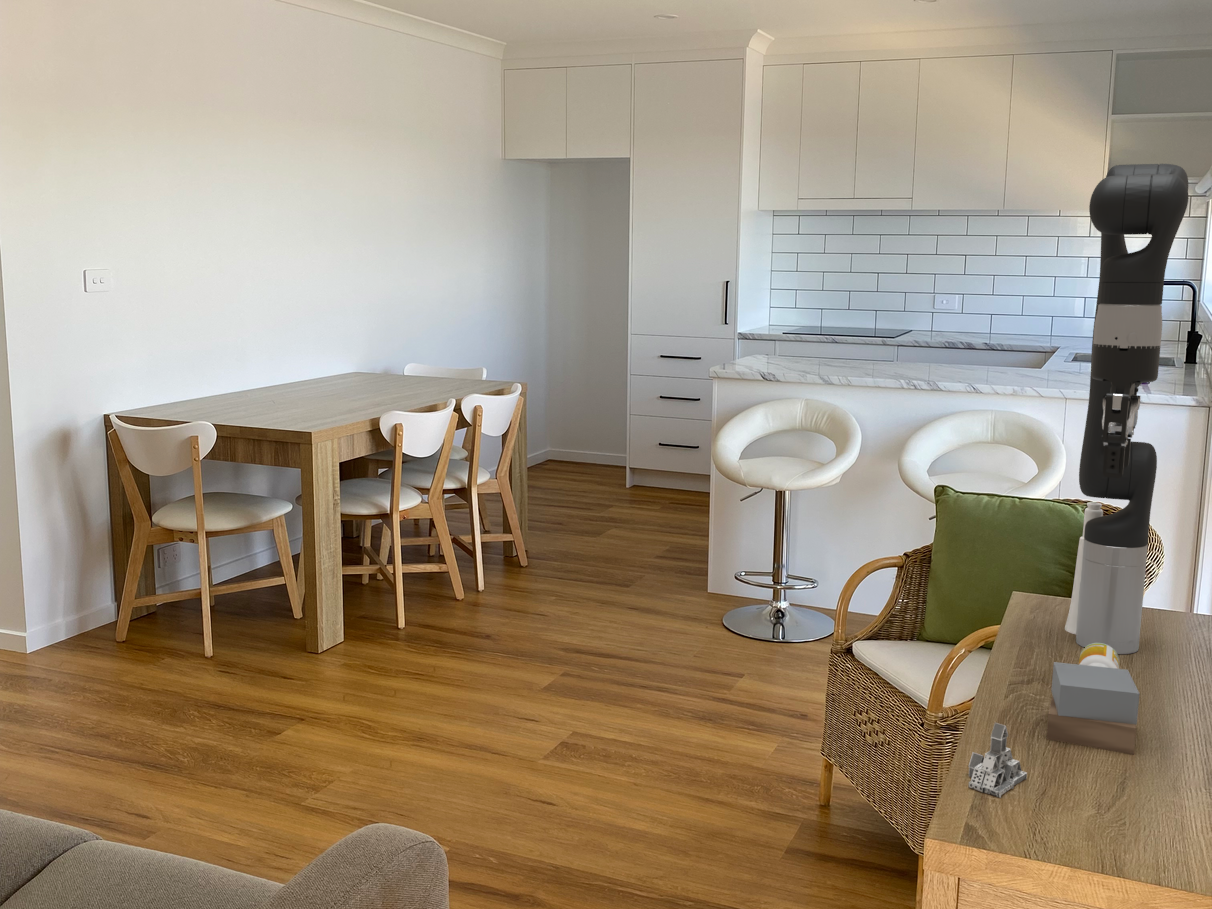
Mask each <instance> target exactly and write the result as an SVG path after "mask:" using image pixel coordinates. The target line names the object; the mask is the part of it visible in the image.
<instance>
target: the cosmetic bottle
mask: <svg viewBox="0 0 1212 909" xmlns="http://www.w3.org/2000/svg"><path fill="white" fill-rule="evenodd" d="M1086 506H1087V507H1086V508H1085V509H1084V513H1083V514H1084V515H1083V517H1084V518H1083V528H1082V529H1083V530H1082V536H1080V537H1079V541H1078V548H1077V554H1076V555H1077V556H1076V561H1075V562H1076V563H1075V571H1074V579H1073V587H1072V593H1071V600H1070V605H1069V611H1068V614H1067V617H1066V618H1067V619H1066V622H1065V626H1064V630H1065V632H1068V633H1070V634H1073V635H1075V636H1076V628H1077V616H1078V603H1079V590H1080V582H1081V571H1082V559H1083V545H1084V532H1085V525H1086V523H1087V522H1088V521H1089V520H1091V519H1094V518H1098V517H1102V516H1104V510H1103V509H1102V507H1103V504H1102V503H1099V502H1095V501H1094V502H1093V501H1090V502H1087V503H1086Z"/></svg>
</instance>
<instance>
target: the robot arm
mask: <svg viewBox="0 0 1212 909" xmlns="http://www.w3.org/2000/svg"><path fill="white" fill-rule="evenodd" d="M1089 200H1090V201H1089V205H1088V206H1089V207H1088V208H1089V218H1090V221H1091V223H1092V225H1093V227H1094V228H1095V229H1096V231H1098V232H1099V233H1100V262H1099V263H1100V264H1099V265H1100V266H1099V280H1098V287H1097V288H1098V289H1097V298H1096V306H1095V312H1094V313H1095V314H1094V321H1093V330H1092V340H1091V341H1092V343H1091V358H1090V376H1089V377H1090V379H1089V380H1090V382H1089V395H1088V405H1087V412H1086V419H1085V426H1084V431H1083V432H1084V433H1083V440H1082V446H1081V447H1082V448H1081V452H1080V460H1079V469H1078V471H1079V472H1078V481H1079V482H1078V483H1079V484H1078V485H1079V488H1080V491H1081V493H1082V494H1083V495H1084V496H1086V497H1090V498H1097V499H1098V498H1099V499H1106V500H1107V499H1108V500H1122V501H1128V503H1127V505H1126V506H1125V507H1123V508H1122V509H1120V510H1117V511H1116V512H1114V513H1110V514H1108V515H1107V514H1106V515H1103V516H1102V517H1098V518H1094V519H1091V520H1089V521H1088V522H1087V523H1086V525H1085V532H1084V545H1083V559H1082V571H1081V582H1080V590H1079V603H1078V616H1077V628H1076V635H1075V642H1076V644H1077V645H1078V646H1080V647H1082V648H1084V647H1086V646H1088V645H1089V644H1092V643H1103V644H1106V645H1108V646H1110V647H1112V648H1113V649H1114V650H1115V651H1116V653H1117V655H1128V654H1134V653H1136V652H1138V651H1139V650H1140V649H1139V646H1140V636H1141V625H1142V616H1143V615H1142V614H1143V603H1144V593H1145V592H1144V591H1145V581H1146V580H1145V579H1146V569H1147V568H1146V567H1147V559H1148V558H1147V557H1148V546H1149V544H1148V543H1149V536H1150V535H1149V534H1150V533H1149V532H1150V531H1149V530H1150V521H1151V520H1150V519H1151V518H1150V517H1151V510H1152V504H1153V503H1152V501H1153V495H1154V488H1155V484H1156V477H1157V469H1158V467H1157V466H1158V457H1157V452H1156V449H1155V447H1154V445H1153V444H1151V443H1149V442H1145V441H1143V442H1142V441H1132V439H1133V436H1134V435H1135V431H1134V429H1136V426H1137V423H1138V416H1139V410H1140V406H1141V397H1142V396H1141V395H1138V393H1139V387H1140V386H1141V385H1142V383H1153V382H1155V381H1156V380H1158V379H1159V378H1158V377H1159V368H1160V367H1159V366H1160V356H1161V346H1162V345H1161V343H1162V334H1163V333H1162V332H1163V316H1162V315H1163V313H1162V308H1163V307H1162V306H1163V305H1162V304H1163V297H1164V296H1163V295H1164V284H1165V283H1164V282H1165V276H1166V270H1167V269H1166V268H1167V264H1168V259H1169V256H1170V252H1171V249H1172V246H1173V244H1174V240H1175V238H1176V236H1177V233H1178V231H1179V229H1180V226H1181V224H1182V222H1183V220H1184V216H1185V215H1186V211H1187V209H1188V204H1189V177H1188V174H1187V171H1186V170H1185V169H1184V168H1183V167H1182V166H1180V165H1177V164H1173V163H1142V164H1140V163H1138V164H1136V163H1135V164H1134V163H1133V164H1132V163H1131V164H1118V165H1117V164H1115V165H1114V166H1113V165H1112V167H1110V168H1109V169H1108V171H1107V174H1106V176H1105V177H1104V178H1102V180H1100V181H1099V182H1098V183H1097V185H1096V186H1095V188H1094V189H1093V191H1092V194H1091V196H1090V199H1089ZM1125 235H1128V236H1129V235H1151V237H1150V240H1149V242H1148V243H1147V245H1146V246H1145V247H1143V248H1142V249H1139V250H1136V251H1133V252H1128V249H1127V244H1126V239H1125Z"/></svg>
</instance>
